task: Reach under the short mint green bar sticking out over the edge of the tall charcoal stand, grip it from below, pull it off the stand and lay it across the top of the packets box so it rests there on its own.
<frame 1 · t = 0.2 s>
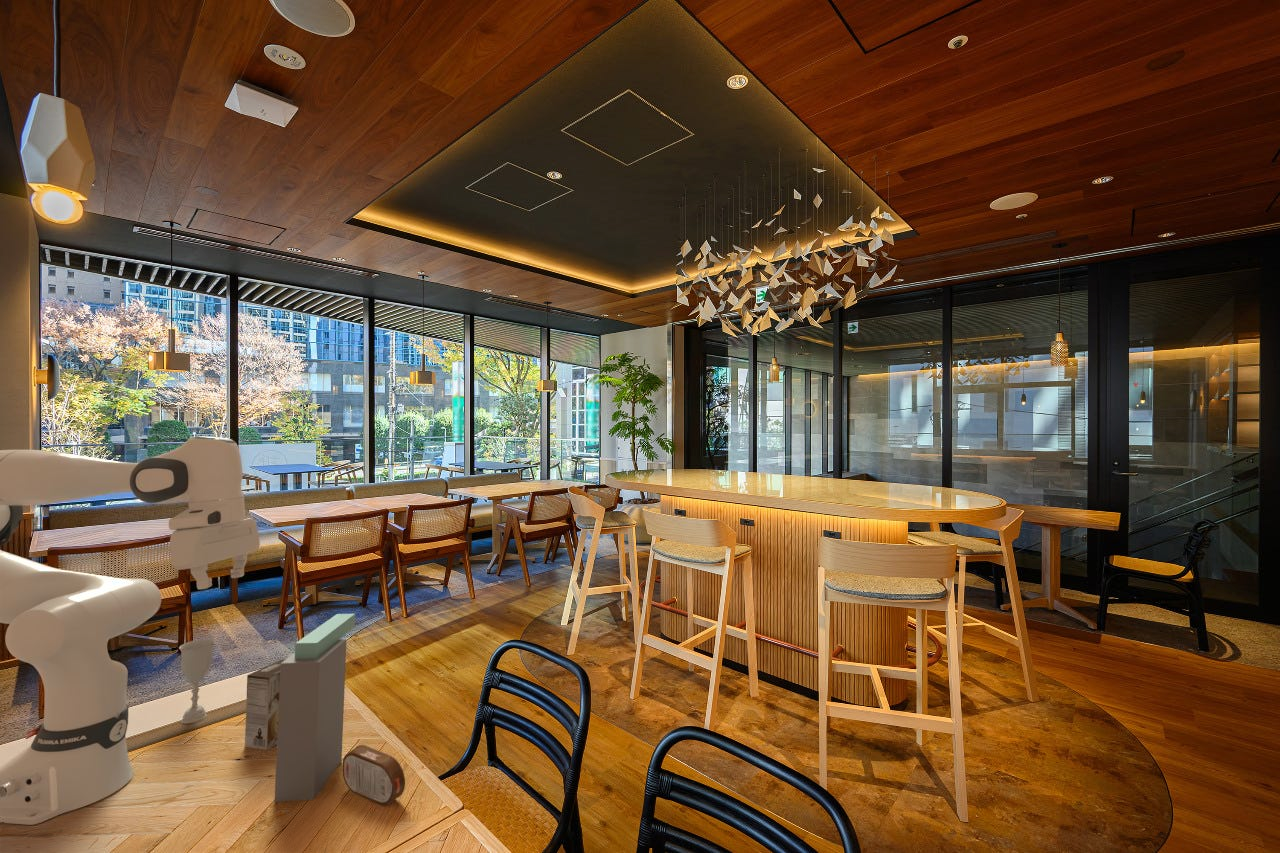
hand: (221, 582, 105), 40 cm above the table, tool pointing down, fingers open, 8 cm apart
coffee box: (273, 739, 120), on the table
tin: (371, 797, 101), on the table
stand: (310, 780, 105), on the table
mint green bar: (327, 641, 111), point 26 cm above the table, touching stand
chalice: (193, 718, 128), on the table
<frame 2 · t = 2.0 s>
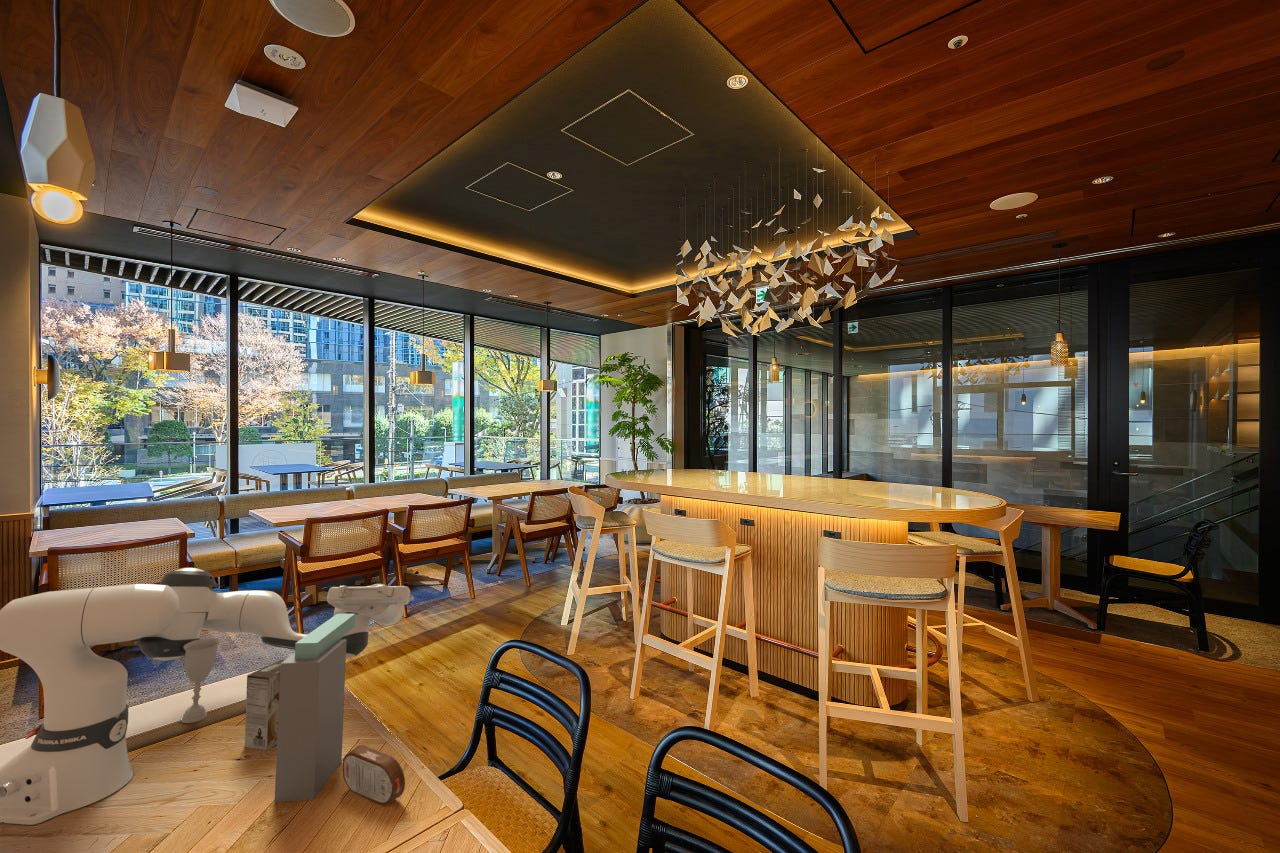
hand: (361, 588, 135), 31 cm above the table, tool pointing upward, fingers open, 8 cm apart
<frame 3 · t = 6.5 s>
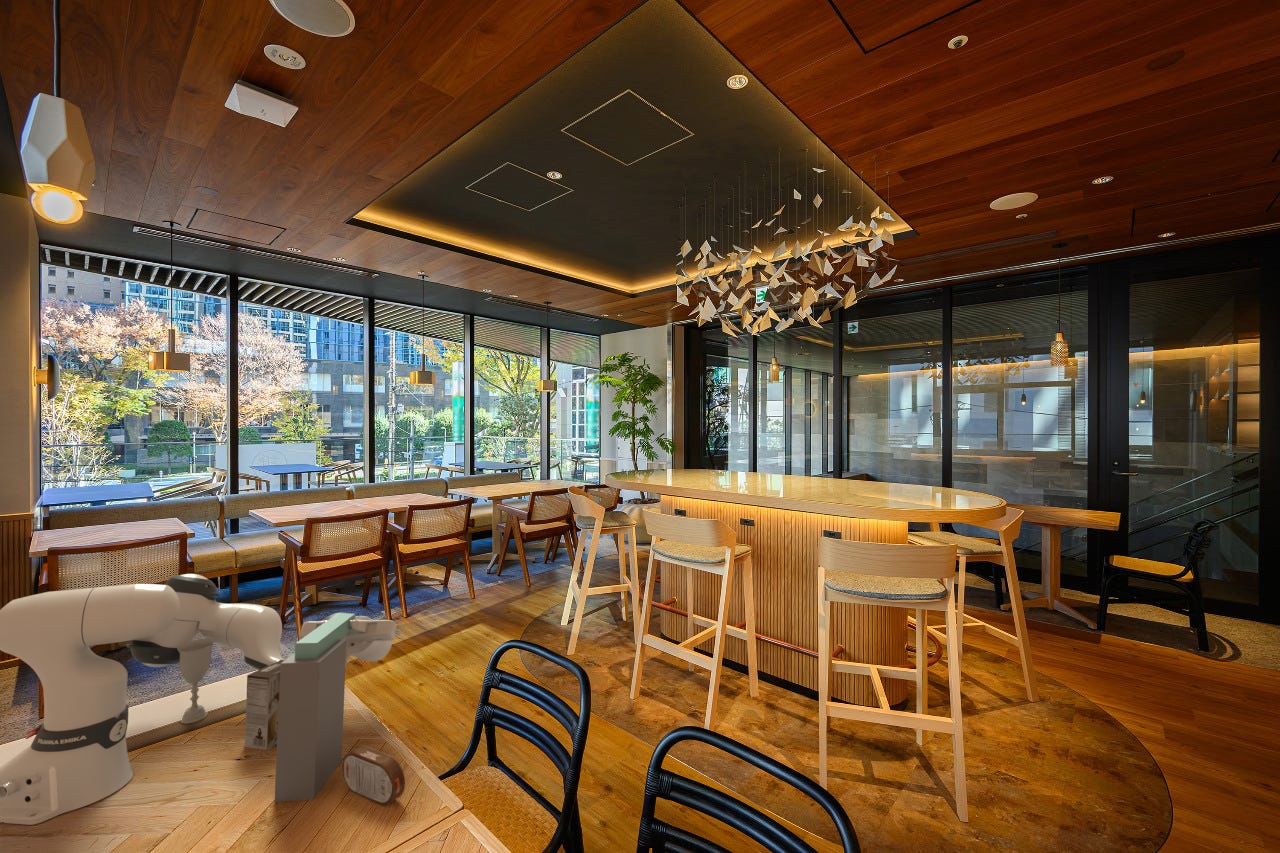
hand: (338, 624, 116), 28 cm above the table, tool pointing upward, fingers closed on mint green bar, 4 cm apart
mint green bar: (327, 641, 111), point 26 cm above the table, touching gripper, stand
chalice: (193, 718, 128), on the table, touching arm
everything else where it was.
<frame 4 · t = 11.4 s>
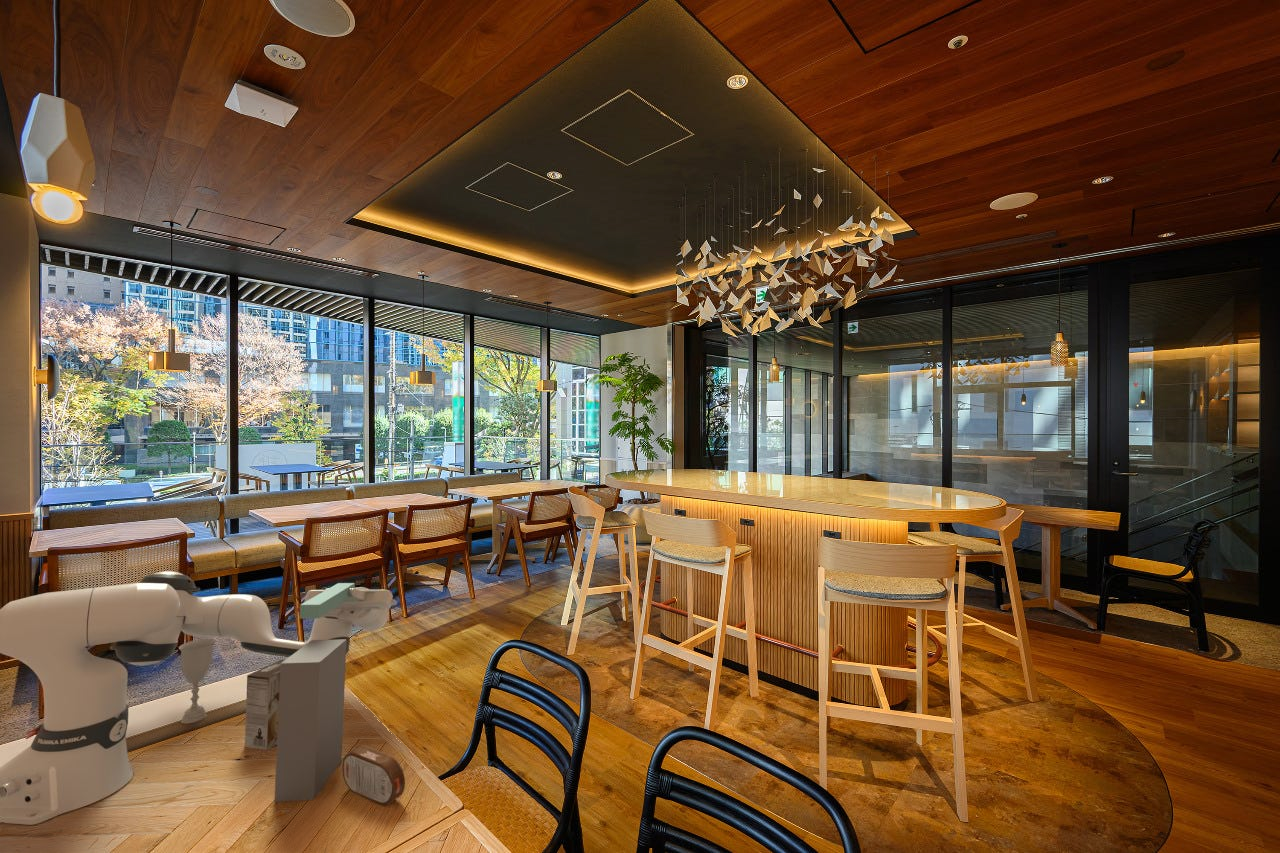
hand: (339, 591, 128), 32 cm above the table, tool pointing upward, fingers closed on mint green bar, 4 cm apart
mint green bar: (328, 605, 123), point 30 cm above the table, touching gripper
chalice: (193, 718, 128), on the table
everything else where it was.
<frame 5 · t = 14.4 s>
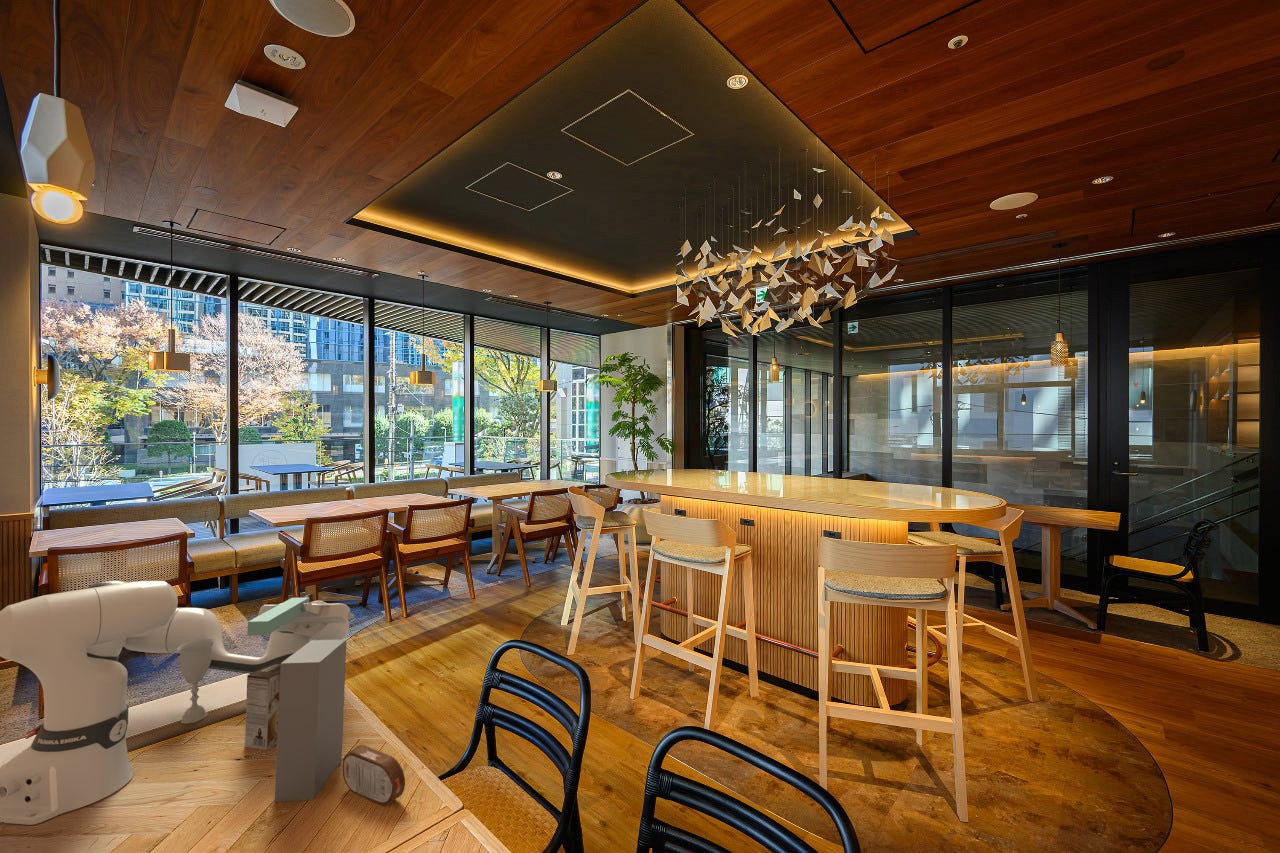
hand: (292, 606, 127), 28 cm above the table, tool pointing upward, fingers closed on mint green bar, 4 cm apart
mint green bar: (280, 621, 121), point 26 cm above the table, touching gripper
chalice: (194, 718, 128), on the table, touching arm
everything else where it was.
when the fingers open (23 cm above the table, at t = 16.6 s): mint green bar drops 5 cm, resting on coffee box.
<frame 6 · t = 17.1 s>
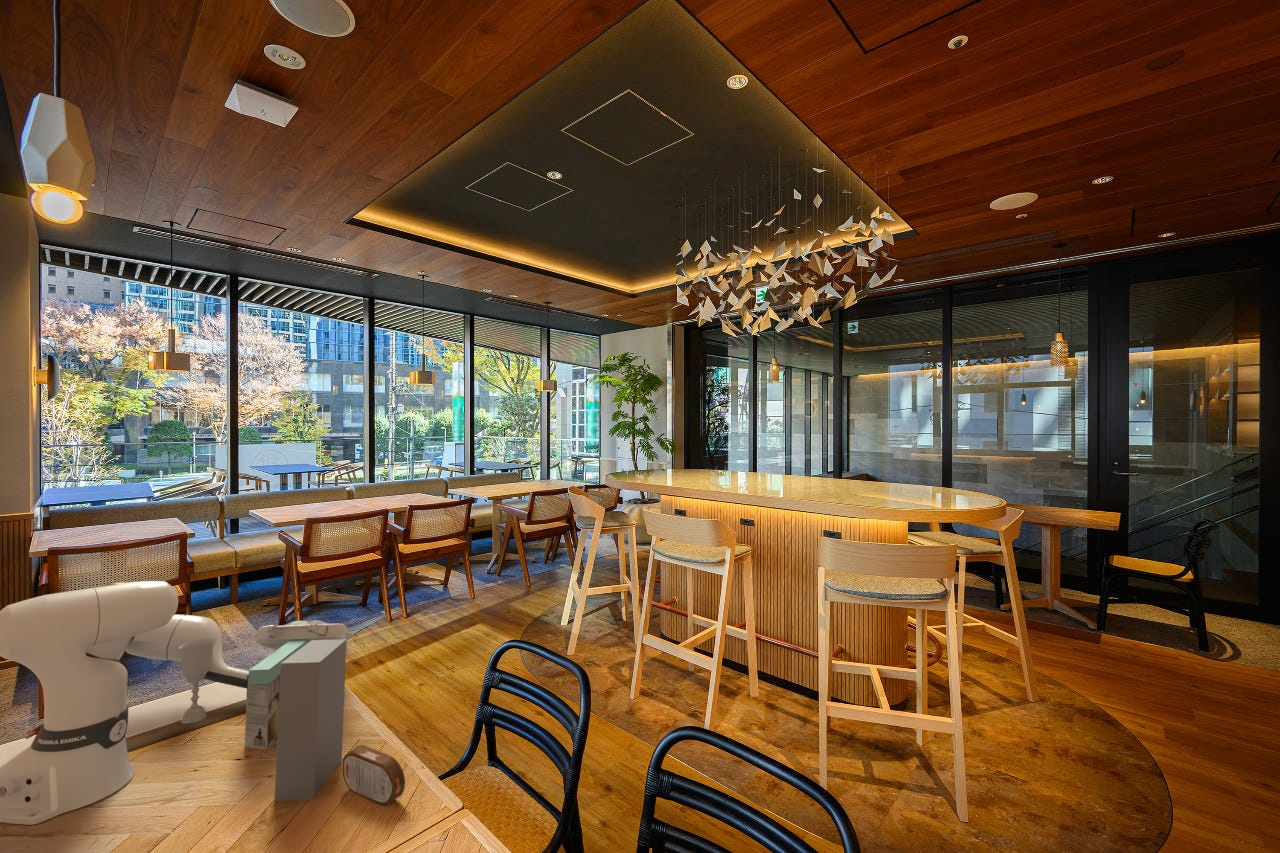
hand: (290, 627, 126), 23 cm above the table, tool pointing upward, fingers open, 8 cm apart
coffee box: (273, 739, 120), on the table, touching mint green bar
mint green bar: (280, 666, 121), point 16 cm above the table, touching coffee box
chalice: (193, 718, 128), on the table
everything else where it was.
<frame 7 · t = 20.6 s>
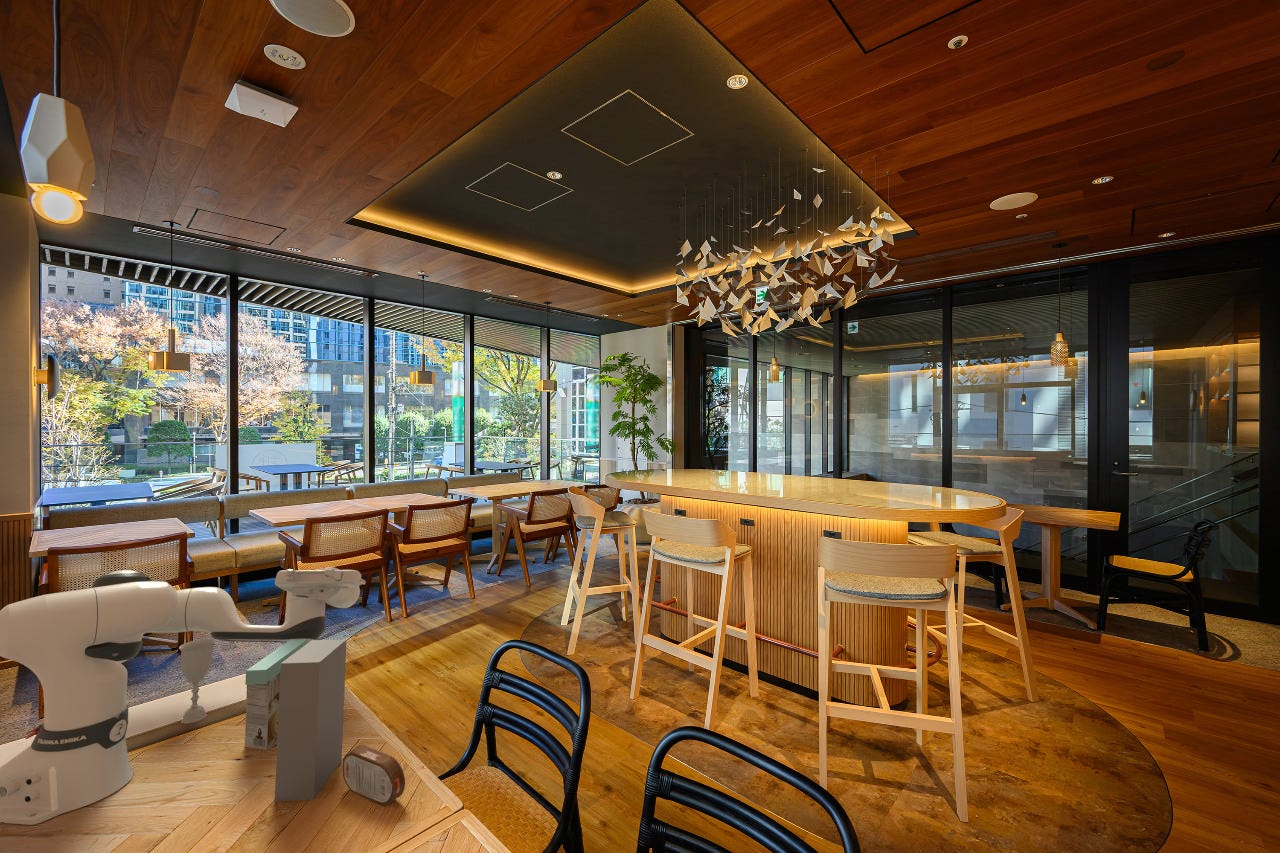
hand: (308, 572, 134), 35 cm above the table, tool pointing upward, fingers open, 8 cm apart
nothing on the table moved.
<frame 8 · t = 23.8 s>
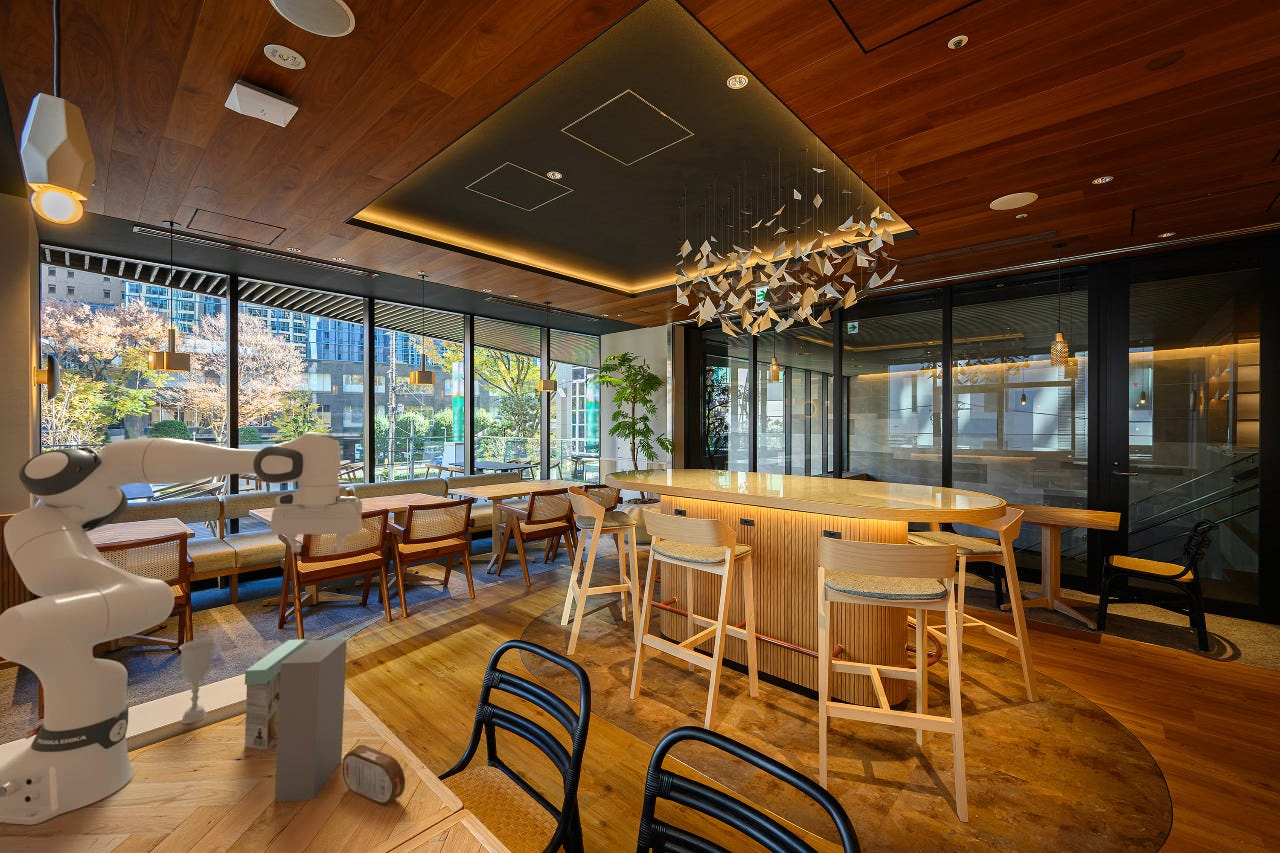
hand: (316, 551, 130), 41 cm above the table, tool pointing down, fingers open, 8 cm apart
nothing on the table moved.
at the end: mint green bar inside the target area on the coffee box (0.4 cm from its centre), point 16.3 cm above the coffee box's base; the gripper is holding nothing; coffee box tilted 0° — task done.
